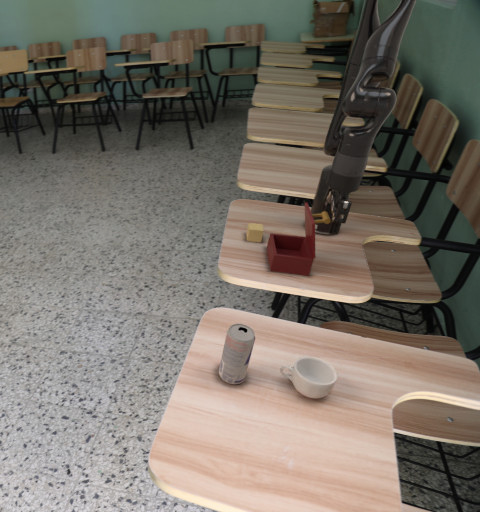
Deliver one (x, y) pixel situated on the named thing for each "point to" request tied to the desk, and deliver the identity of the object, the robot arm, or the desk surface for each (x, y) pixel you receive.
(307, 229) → the cover
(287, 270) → the red cubby box
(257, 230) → the tan cube
